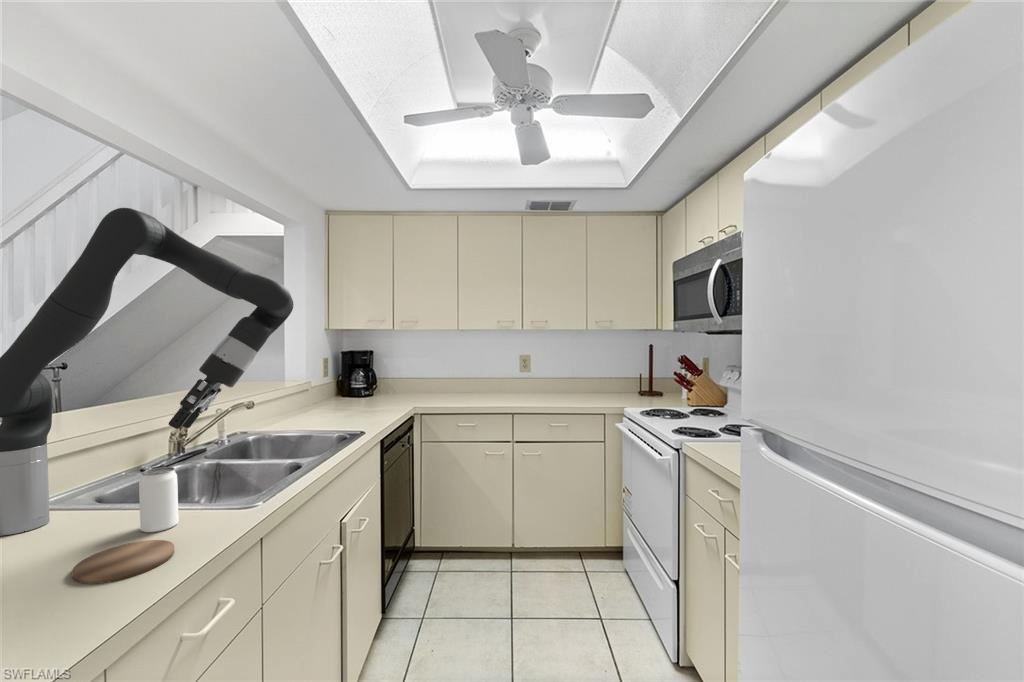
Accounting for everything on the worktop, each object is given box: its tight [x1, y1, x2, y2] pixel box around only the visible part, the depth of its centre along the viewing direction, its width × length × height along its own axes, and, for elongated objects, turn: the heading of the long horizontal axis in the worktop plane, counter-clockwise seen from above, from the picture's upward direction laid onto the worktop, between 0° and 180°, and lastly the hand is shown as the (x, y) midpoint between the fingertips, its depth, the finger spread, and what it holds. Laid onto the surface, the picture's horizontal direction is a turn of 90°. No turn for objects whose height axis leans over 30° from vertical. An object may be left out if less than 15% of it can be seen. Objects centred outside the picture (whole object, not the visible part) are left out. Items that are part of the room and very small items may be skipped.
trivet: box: [71, 539, 175, 584], centre depth 84 cm, size 14×14×1 cm
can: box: [138, 466, 179, 534], centre depth 100 cm, size 6×6×12 cm
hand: (178, 426), depth 98 cm, fingers open, 8 cm apart
